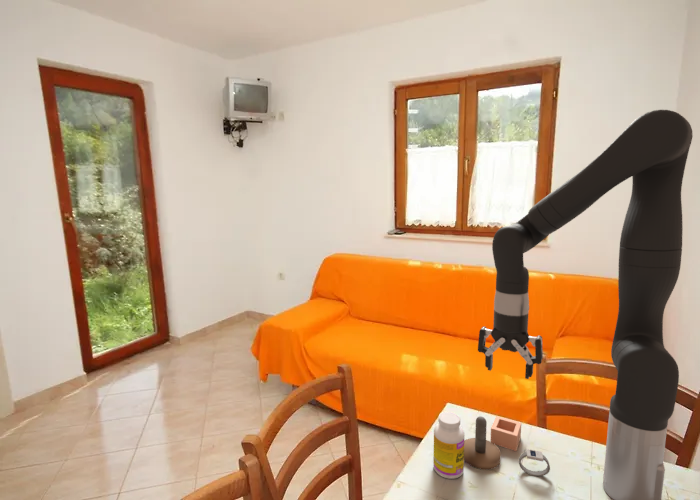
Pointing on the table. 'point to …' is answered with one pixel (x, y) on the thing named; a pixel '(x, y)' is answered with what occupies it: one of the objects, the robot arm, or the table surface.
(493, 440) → the pink hollow square block
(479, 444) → the post stand
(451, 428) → the supplement bottle
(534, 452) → the wristwatch
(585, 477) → the table surface
